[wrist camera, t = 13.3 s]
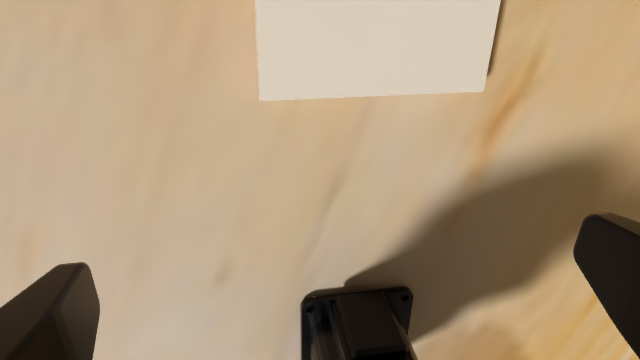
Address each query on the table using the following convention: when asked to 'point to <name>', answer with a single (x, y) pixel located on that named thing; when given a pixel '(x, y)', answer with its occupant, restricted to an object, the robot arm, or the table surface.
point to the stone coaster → (372, 47)
